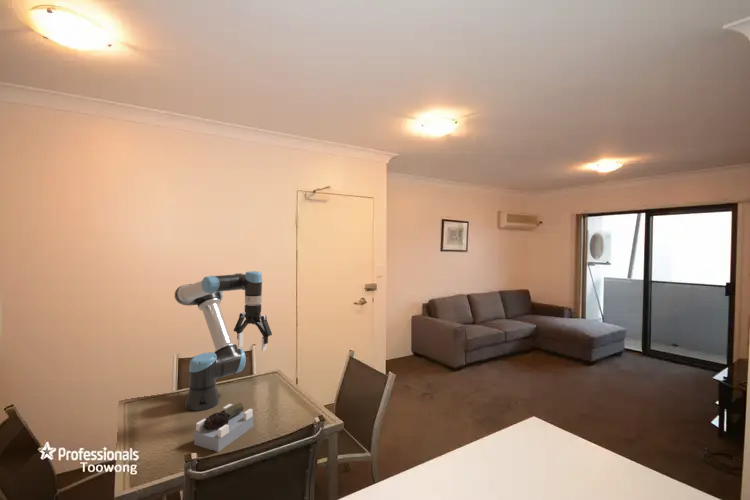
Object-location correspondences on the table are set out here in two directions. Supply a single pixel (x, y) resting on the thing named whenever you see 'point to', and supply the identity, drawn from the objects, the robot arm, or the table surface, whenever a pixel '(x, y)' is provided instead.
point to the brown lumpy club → (222, 416)
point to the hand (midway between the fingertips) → (252, 348)
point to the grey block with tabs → (223, 431)
